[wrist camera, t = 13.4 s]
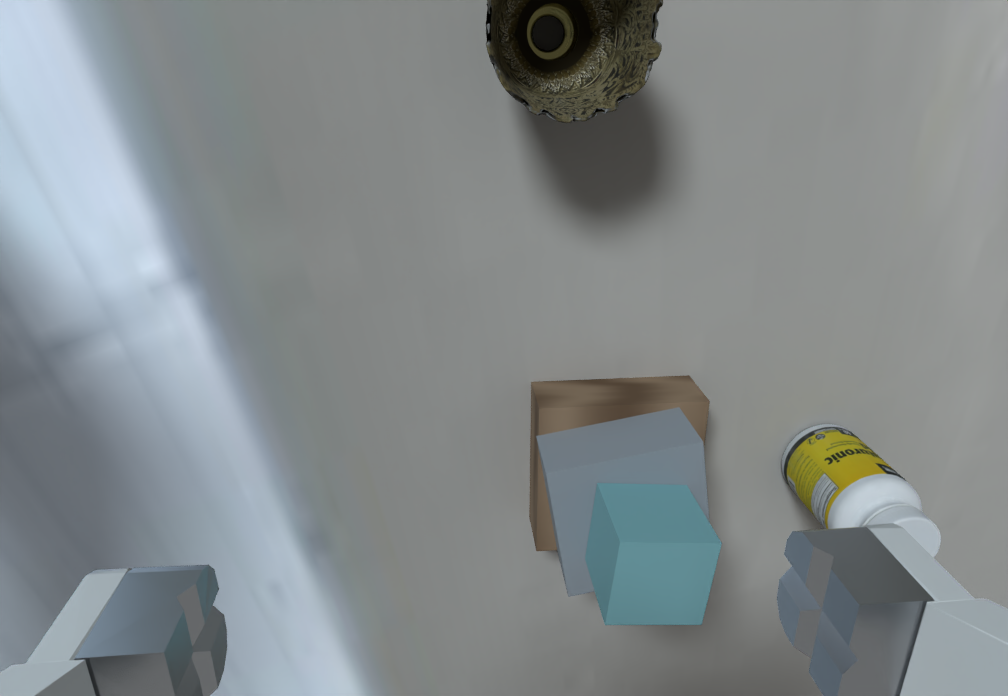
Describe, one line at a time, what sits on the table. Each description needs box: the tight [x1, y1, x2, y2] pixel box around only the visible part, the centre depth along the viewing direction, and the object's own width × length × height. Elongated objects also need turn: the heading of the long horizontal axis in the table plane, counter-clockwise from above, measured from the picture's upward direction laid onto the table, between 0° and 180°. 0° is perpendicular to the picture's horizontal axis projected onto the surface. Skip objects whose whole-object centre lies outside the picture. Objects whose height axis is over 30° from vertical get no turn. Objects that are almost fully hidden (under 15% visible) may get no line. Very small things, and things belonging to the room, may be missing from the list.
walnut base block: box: [529, 376, 710, 551], centre depth 44 cm, size 10×10×4 cm
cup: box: [486, 0, 663, 123], centre depth 32 cm, size 8×7×8 cm
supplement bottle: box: [781, 424, 941, 558], centre depth 43 cm, size 5×5×10 cm
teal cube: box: [585, 483, 722, 625], centre depth 37 cm, size 5×5×5 cm
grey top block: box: [536, 407, 709, 597], centre depth 41 cm, size 8×8×4 cm
